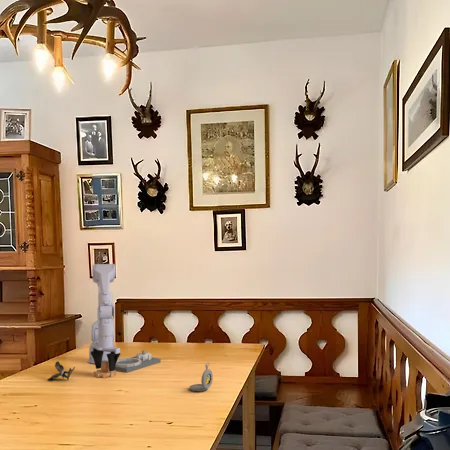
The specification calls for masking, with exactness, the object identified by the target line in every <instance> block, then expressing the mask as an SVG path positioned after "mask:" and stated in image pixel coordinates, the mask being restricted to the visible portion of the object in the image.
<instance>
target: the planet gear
mask: <svg viewBox="0 0 450 450" xmlns="http://www.w3.org/2000/svg"><path fill="white" fill-rule="evenodd" d="M116 375H117V371H116V370H114V371H111V372H110V371H109V362H108V360H105V361H101V368H100V369H96V370H95V371H94V372H93V376H94V377H95V378H96V379H98V378H102V379H106V378H113V377H114V376H116Z"/></svg>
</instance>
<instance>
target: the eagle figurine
mask: <svg viewBox="0 0 450 450" xmlns="http://www.w3.org/2000/svg"><path fill="white" fill-rule="evenodd" d="M54 368H55V369H56V371H58V373H55V374H52V375H51V376H50V377H49V378H48V379H47V381H50V380H52V379H56V378H59V377H61V378H63V379H65V378H66V380H67V381H69V380H70V379H69V378H70V376H71V374H72V373H73V372H74V371H75V368H76V366H73V368H71V367H69V369H68V371H66V368H65V367H64V365H62V364H61V363H60V361H59V360H58V361H56V362H55V364H54Z"/></svg>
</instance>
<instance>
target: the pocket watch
mask: <svg viewBox="0 0 450 450" xmlns="http://www.w3.org/2000/svg"><path fill="white" fill-rule="evenodd" d="M209 366H210V362H207V364H205V366H204V367H205V368H206V369H204V371H203V372H202V376H201V380H200V381H201V383H194V384H191V385H190V386H189V390H191V391H193V392H204V391H207V390H208V389H209V388H210V387H211V386H212V384H213V380H214V378H213V377H214V376H213V371H212V370H211V369H210V368H209Z"/></svg>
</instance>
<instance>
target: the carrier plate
mask: <svg viewBox="0 0 450 450" xmlns="http://www.w3.org/2000/svg"><path fill="white" fill-rule="evenodd" d="M146 351H147V350H144V349H143V350H141V352H137V353H135V356H131V357H122V358H118V360H117V362H116V365H115V369H114V371H115V370H116V372H121V373H125V374H126V373H130V372H133V371H137V370H139V369H143V368H146V367H150V366H152V365H153V366H154V365H157V364H159V363H161V361H162V359H161V358H159V357H158V358H157V357H154V356H153V354H152V353H150V352H146Z"/></svg>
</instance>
